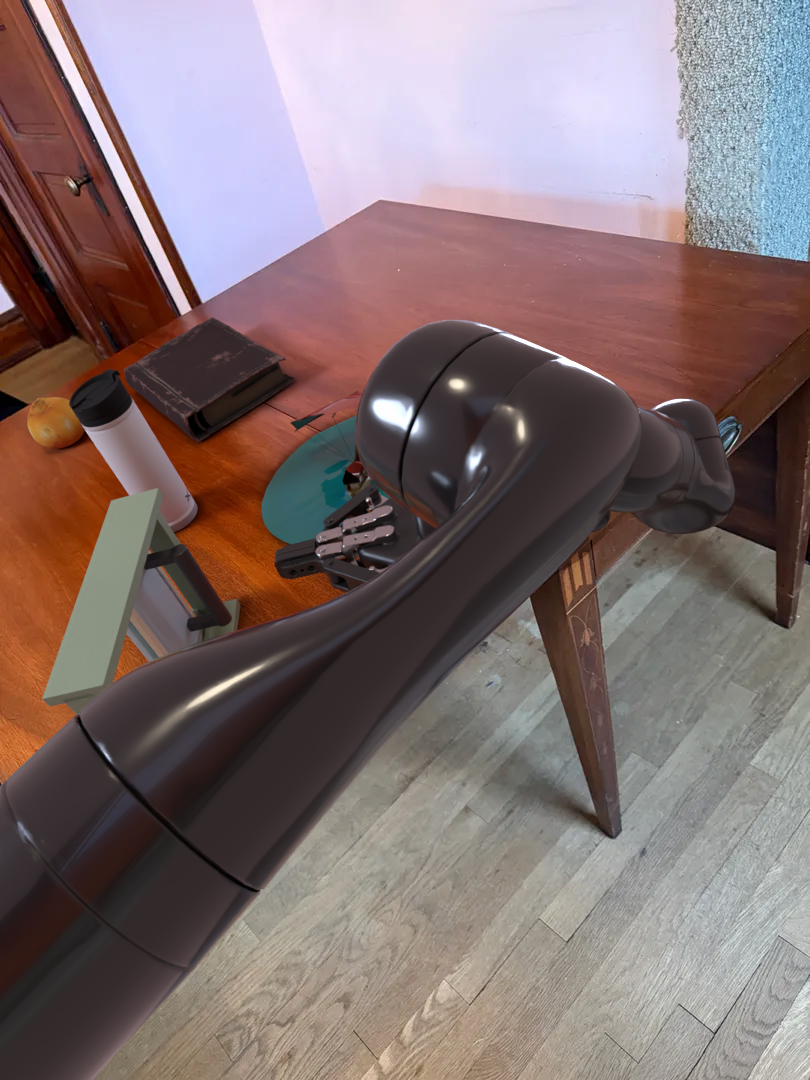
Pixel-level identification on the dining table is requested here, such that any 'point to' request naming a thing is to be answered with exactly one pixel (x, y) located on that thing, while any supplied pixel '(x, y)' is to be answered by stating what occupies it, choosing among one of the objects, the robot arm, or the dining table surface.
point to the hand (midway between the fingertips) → (278, 565)
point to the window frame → (117, 601)
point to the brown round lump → (54, 423)
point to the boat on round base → (316, 477)
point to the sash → (174, 603)
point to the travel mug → (131, 445)
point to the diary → (207, 377)
